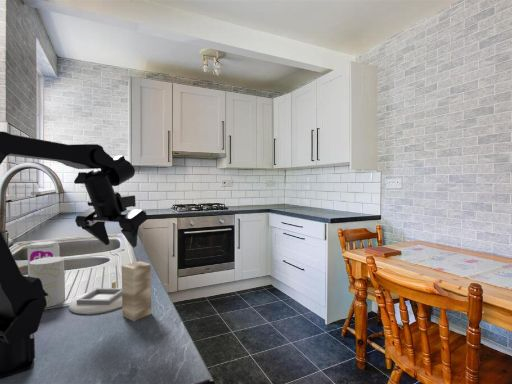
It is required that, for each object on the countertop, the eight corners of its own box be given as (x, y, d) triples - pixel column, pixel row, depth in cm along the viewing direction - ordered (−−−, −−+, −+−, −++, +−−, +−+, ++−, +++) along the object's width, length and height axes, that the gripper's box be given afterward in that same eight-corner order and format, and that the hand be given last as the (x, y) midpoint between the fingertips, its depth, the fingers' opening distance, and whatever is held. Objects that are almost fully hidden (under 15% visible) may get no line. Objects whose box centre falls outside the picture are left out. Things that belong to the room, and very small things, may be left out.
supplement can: (55, 292, 91) (53, 244, 90) (23, 295, 88) (22, 246, 88) (64, 283, 99) (62, 239, 98) (35, 286, 96) (34, 241, 96)
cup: (24, 309, 78) (23, 265, 78) (38, 298, 86) (37, 257, 86) (59, 305, 81) (57, 263, 80) (69, 295, 88) (68, 255, 88)
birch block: (133, 321, 71) (133, 268, 71) (122, 316, 74) (121, 265, 74) (151, 313, 76) (150, 264, 75) (140, 309, 78) (139, 261, 78)
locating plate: (114, 314, 75) (114, 301, 75) (54, 313, 76) (54, 300, 76) (142, 291, 91) (141, 280, 91) (92, 290, 92) (92, 279, 92)
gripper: (152, 181, 77) (166, 231, 83) (97, 181, 83) (114, 228, 89) (123, 199, 67) (142, 255, 74) (63, 198, 73) (86, 249, 79)
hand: (121, 245), depth 79 cm, fingers open, 9 cm apart
